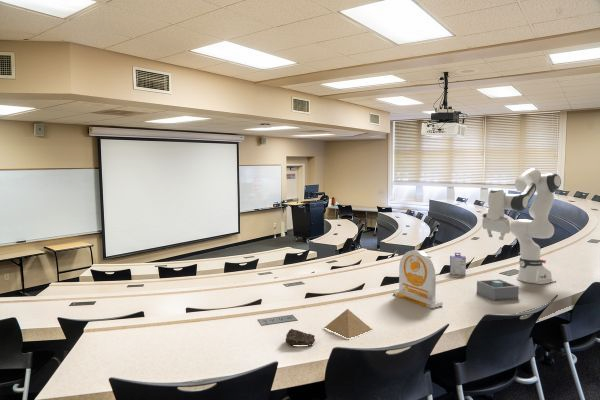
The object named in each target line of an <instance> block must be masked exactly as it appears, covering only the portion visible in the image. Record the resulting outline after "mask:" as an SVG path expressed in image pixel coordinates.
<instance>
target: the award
mask: <svg viewBox="0 0 600 400" xmlns="http://www.w3.org/2000/svg"><path fill="white" fill-rule="evenodd" d="M398 269H399V271H398V272H399V273H398V276H399V279H398V282H399V283H398V290H393V294H395V295H397V296H399V297H398V298H400V297H401V298H400V299H403V298H404V299H403V300H405V299H407V300H406V301H408V300H410V301H409V302H411V301H412V303H414V302H415V303H414V304H416V303H417V305H419V304H420V306H422V305H423V306H422V307H424V306H426V307H425V308H427V307H428V308H427V309H430V308H433V309H436V308H435V307H438V308H440V307H439V306H442V307H443V303H444V302H442V301H440V300H438V299H436V286H437V285H436V283H437V281H436V278H437V277H436V274H437V273H436V269H435V266H434V263H433V262H432V260H431V258H430V257H429V256H428V255H427V254H426V253H425V252H424V251H421V250H418V249H412V250H409V251H407V252H405V253H404V254H403V255H402V257H401V258H400V261H399V267H398ZM395 295H394V296H395ZM397 296H396V297H397Z"/></svg>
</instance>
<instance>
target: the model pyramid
mask: <svg viewBox="0 0 600 400" xmlns="http://www.w3.org/2000/svg"><path fill="white" fill-rule="evenodd" d="M323 328H327V329H329V330H331V331H333V332H336V333H338V334H340V335H342V336H344V337H346V338H351V337H355V336H358V335H360V334H363V333H365V332H368V331H370V330H373V328H372V327H370V326H369V325H368V324H367V323H365V322H364V321H363V320H362V319H360V318H359V317H358V316H357V315H356V314H355V313H353V312H352V311H351V310H350V309H348V308H347V309H345V310H344V311H343V312H342V313H340V314H339V315H338V316H337V317H335V319H333V320H331V321H330V322H329V323H328V324H326V326H324V327H323ZM370 332H371V331H370ZM368 333H369V332H368ZM363 335H364V334H363ZM358 337H359V336H358Z"/></svg>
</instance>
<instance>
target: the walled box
mask: <svg viewBox="0 0 600 400" xmlns="http://www.w3.org/2000/svg"><path fill="white" fill-rule="evenodd" d="M492 281H500V282H503V287H497V288H495V287H492ZM519 289H520V287H519V286H518V285H515V284H513V283H510V282H508V281H505V280H503V279H501V278H499V279H484V280H476V294H479V295H481V296H482V297H485V298H487V299H489V300H491V301H494V302H498V301H508V300H518V299H519V292H520V291H519Z"/></svg>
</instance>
